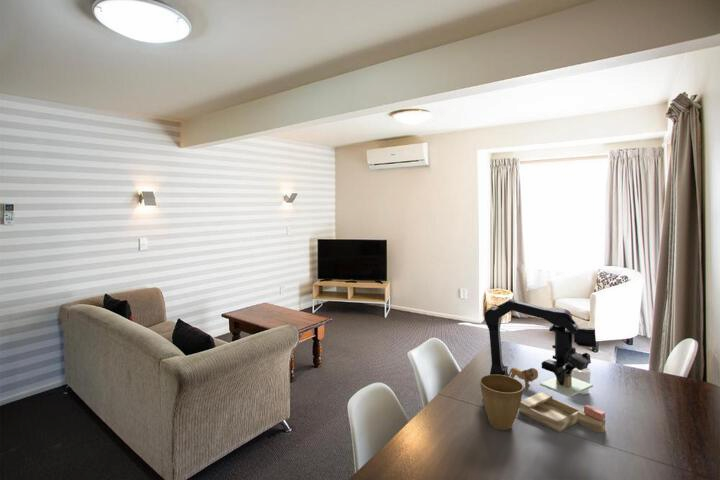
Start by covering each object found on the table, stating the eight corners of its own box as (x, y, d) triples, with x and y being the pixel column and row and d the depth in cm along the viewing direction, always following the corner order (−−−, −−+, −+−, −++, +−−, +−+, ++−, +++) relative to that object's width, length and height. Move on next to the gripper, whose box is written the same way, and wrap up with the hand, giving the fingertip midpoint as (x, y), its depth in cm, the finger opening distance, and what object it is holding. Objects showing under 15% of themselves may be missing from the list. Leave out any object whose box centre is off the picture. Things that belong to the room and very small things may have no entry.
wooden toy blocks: (582, 444, 119) (582, 432, 119) (519, 412, 140) (519, 401, 140) (605, 430, 127) (605, 418, 127) (542, 401, 148) (542, 391, 147)
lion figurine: (539, 386, 160) (539, 367, 160) (536, 391, 157) (536, 371, 156) (507, 377, 171) (506, 359, 170) (502, 381, 167) (502, 362, 166)
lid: (569, 398, 127) (569, 383, 126) (540, 386, 137) (540, 372, 136) (592, 388, 134) (592, 373, 134) (563, 377, 144) (563, 363, 144)
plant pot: (497, 440, 123) (496, 395, 122) (472, 417, 137) (472, 377, 136) (532, 432, 127) (532, 388, 126) (505, 411, 141) (505, 371, 140)
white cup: (584, 386, 160) (584, 364, 159) (594, 395, 152) (594, 372, 151) (565, 386, 161) (566, 364, 160) (574, 394, 153) (574, 372, 152)
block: (601, 420, 125) (601, 414, 125) (583, 413, 130) (584, 406, 130) (605, 418, 126) (605, 412, 126) (587, 411, 131) (587, 405, 131)
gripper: (570, 355, 122) (570, 399, 123) (600, 344, 131) (600, 385, 132) (540, 346, 132) (540, 387, 133) (569, 336, 141) (570, 375, 142)
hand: (563, 383), depth 135 cm, fingers closed on lid, 2 cm apart
